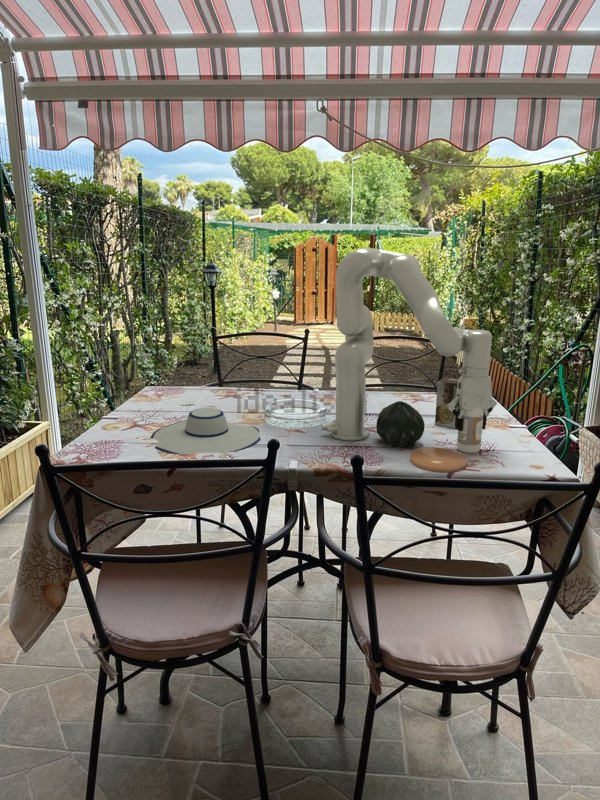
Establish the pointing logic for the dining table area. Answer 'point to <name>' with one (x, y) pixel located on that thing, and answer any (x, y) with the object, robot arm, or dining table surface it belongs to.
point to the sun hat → (205, 434)
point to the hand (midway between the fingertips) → (470, 428)
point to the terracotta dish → (438, 459)
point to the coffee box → (445, 402)
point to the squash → (400, 424)
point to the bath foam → (471, 431)
